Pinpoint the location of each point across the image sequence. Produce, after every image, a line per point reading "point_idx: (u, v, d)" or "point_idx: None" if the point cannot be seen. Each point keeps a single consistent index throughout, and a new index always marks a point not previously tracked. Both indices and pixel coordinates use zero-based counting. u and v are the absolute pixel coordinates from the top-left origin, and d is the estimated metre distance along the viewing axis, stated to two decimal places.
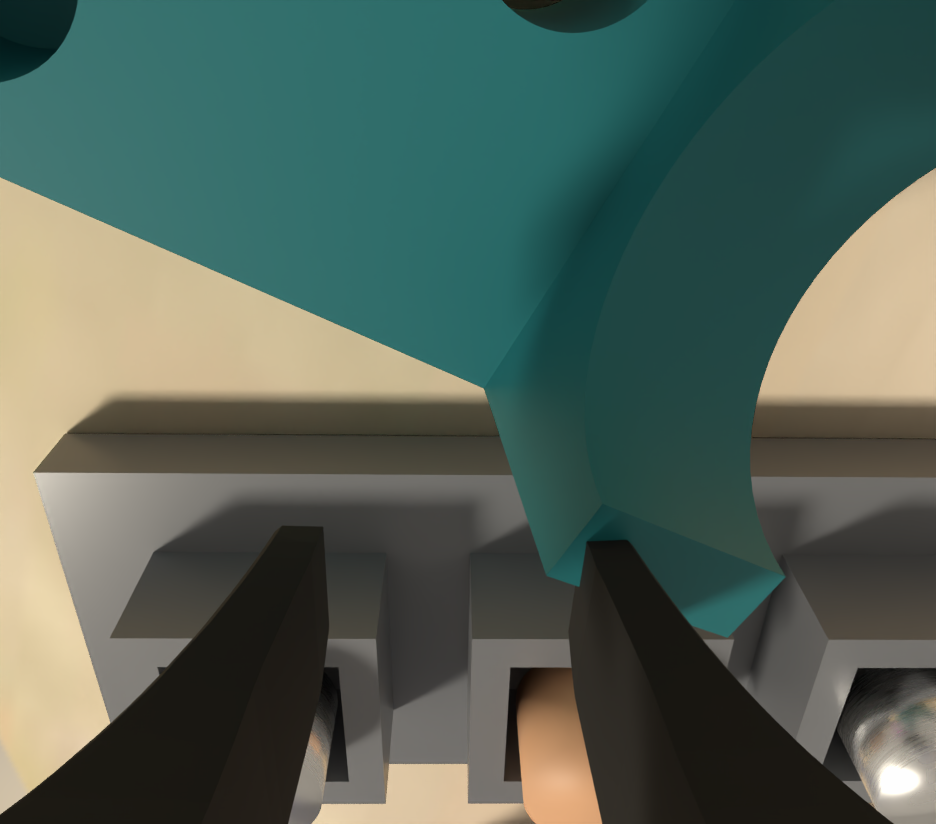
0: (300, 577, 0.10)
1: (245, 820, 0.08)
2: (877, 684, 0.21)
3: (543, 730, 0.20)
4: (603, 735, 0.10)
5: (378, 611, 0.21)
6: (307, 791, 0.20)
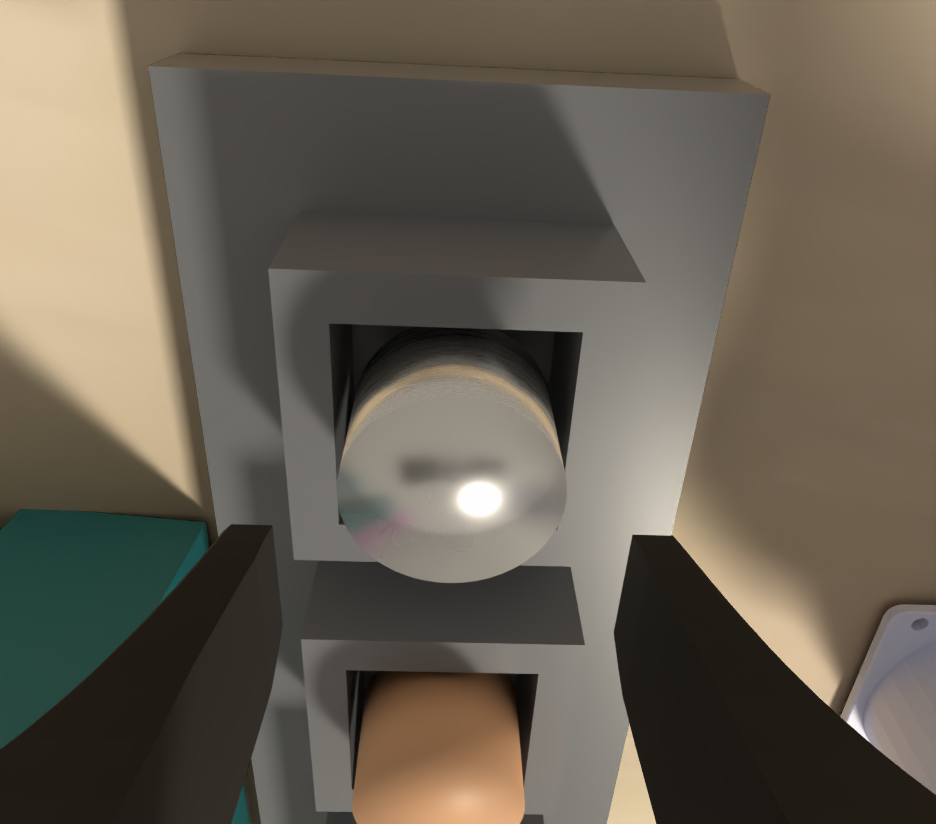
0: (242, 575, 0.10)
1: (172, 819, 0.08)
2: None
3: None
4: (658, 736, 0.10)
5: None
6: None
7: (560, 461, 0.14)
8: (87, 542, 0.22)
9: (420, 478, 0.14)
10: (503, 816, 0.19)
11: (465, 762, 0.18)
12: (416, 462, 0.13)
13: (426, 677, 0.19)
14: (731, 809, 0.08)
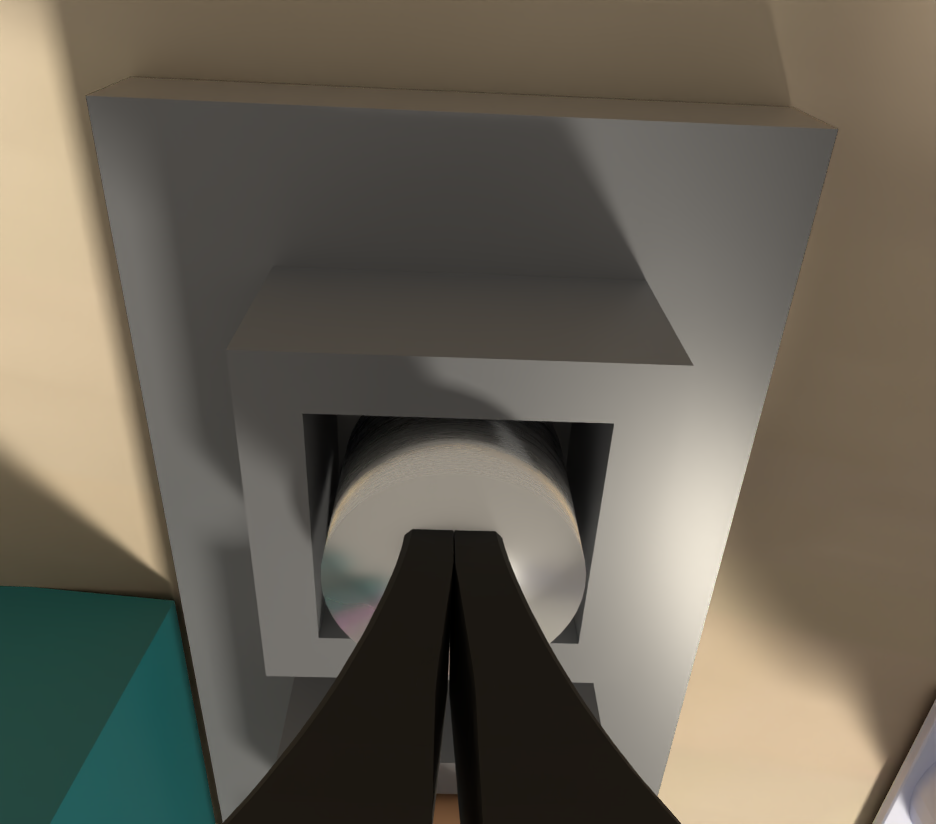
0: (449, 580, 0.10)
1: None
2: None
3: None
4: (459, 732, 0.10)
5: None
6: None
7: (579, 544, 0.12)
8: (38, 627, 0.19)
9: None
10: None
11: None
12: None
13: None
14: (473, 805, 0.08)
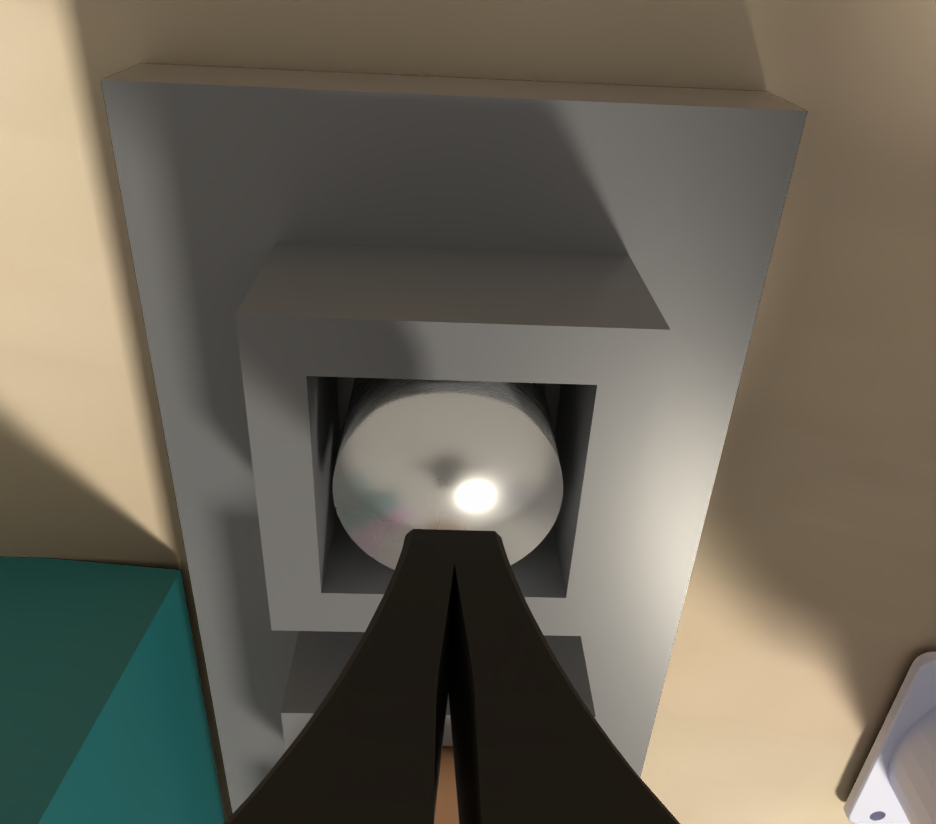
0: (449, 580, 0.10)
1: None
2: None
3: None
4: (458, 732, 0.10)
5: None
6: None
7: (556, 458, 0.14)
8: (50, 595, 0.20)
9: (416, 475, 0.14)
10: None
11: None
12: (412, 458, 0.13)
13: None
14: (472, 805, 0.08)
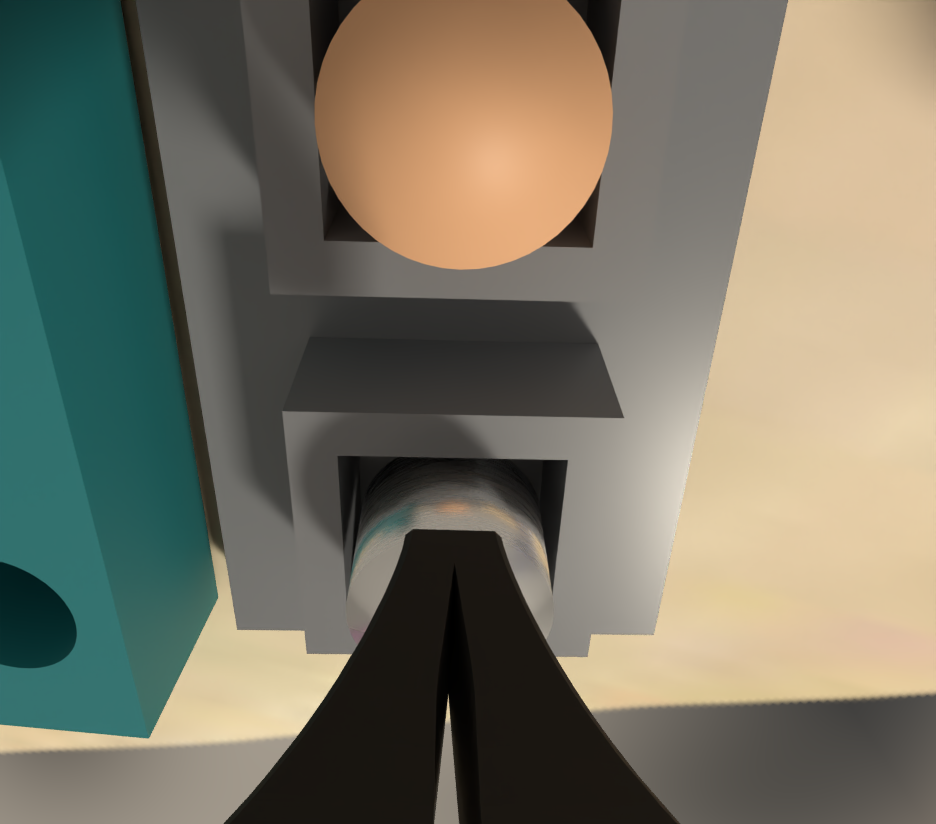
0: (449, 580, 0.10)
1: None
2: None
3: None
4: (458, 732, 0.10)
5: (292, 387, 0.16)
6: None
7: None
8: None
9: None
10: (575, 152, 0.11)
11: None
12: None
13: None
14: (472, 805, 0.08)
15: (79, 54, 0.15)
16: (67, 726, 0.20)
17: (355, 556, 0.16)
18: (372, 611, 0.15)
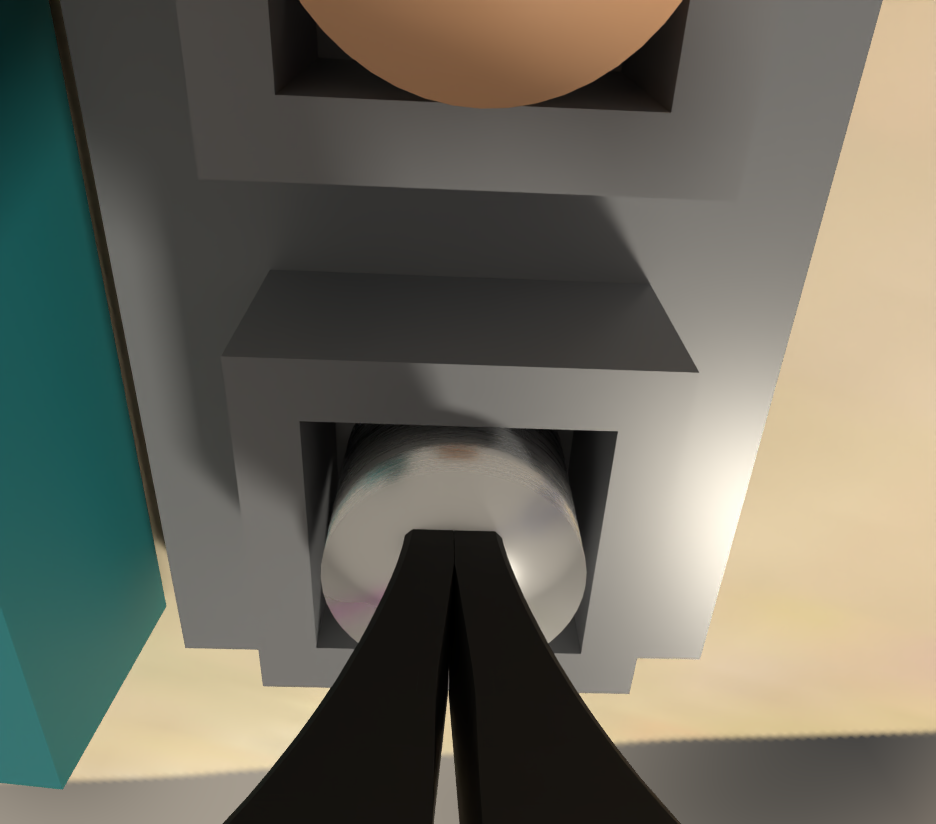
0: (449, 581, 0.10)
1: None
2: None
3: None
4: (458, 733, 0.10)
5: (239, 327, 0.12)
6: (446, 492, 0.11)
7: None
8: None
9: None
10: None
11: None
12: None
13: None
14: (473, 805, 0.08)
15: None
16: None
17: (334, 506, 0.12)
18: (354, 576, 0.12)
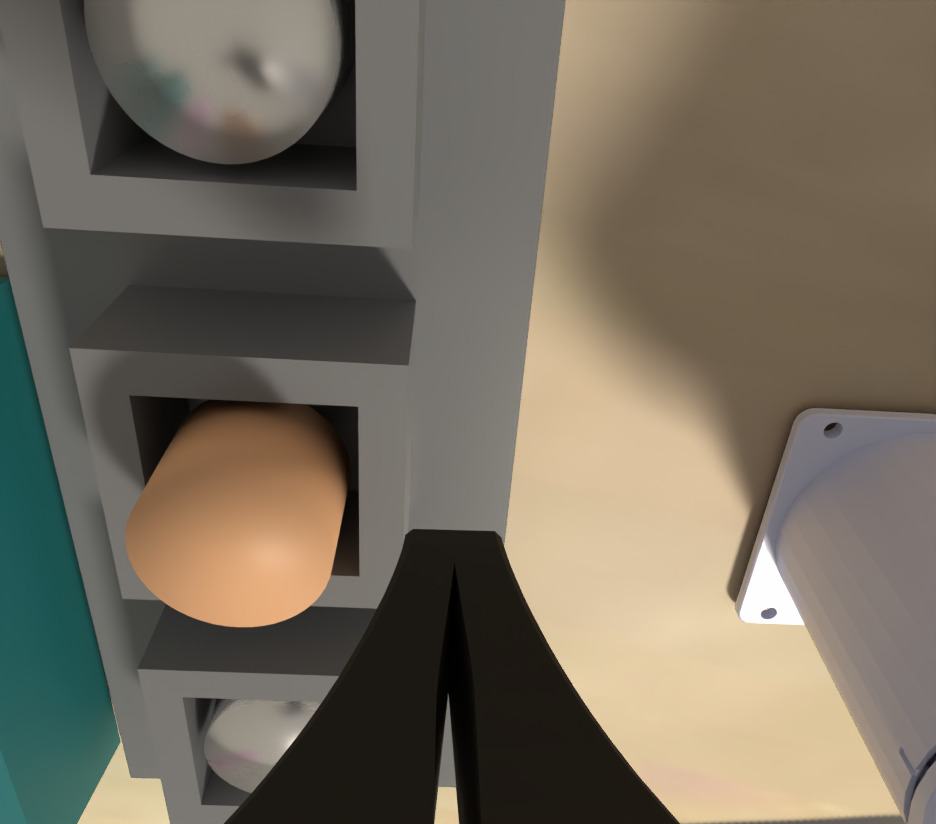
0: (449, 581, 0.10)
1: None
2: None
3: None
4: (458, 732, 0.10)
5: (151, 640, 0.21)
6: (267, 713, 0.21)
7: None
8: None
9: (174, 8, 0.13)
10: (309, 567, 0.16)
11: (251, 483, 0.15)
12: None
13: (228, 411, 0.16)
14: (472, 805, 0.08)
15: None
16: None
17: None
18: (222, 750, 0.22)
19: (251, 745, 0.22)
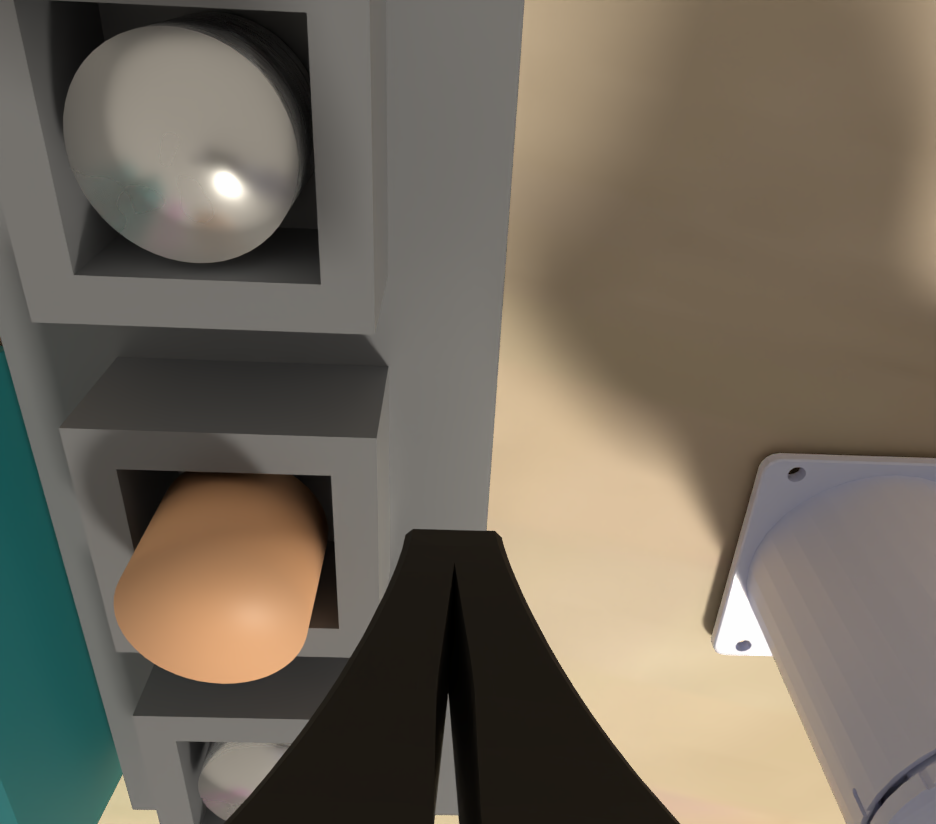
0: (449, 581, 0.10)
1: None
2: None
3: None
4: (458, 733, 0.10)
5: (145, 686, 0.22)
6: (257, 754, 0.22)
7: (284, 109, 0.14)
8: None
9: (146, 129, 0.14)
10: (286, 628, 0.17)
11: (229, 555, 0.16)
12: (139, 107, 0.13)
13: (209, 481, 0.17)
14: (472, 805, 0.08)
15: None
16: None
17: (208, 748, 0.23)
18: (216, 789, 0.23)
19: (243, 784, 0.23)
